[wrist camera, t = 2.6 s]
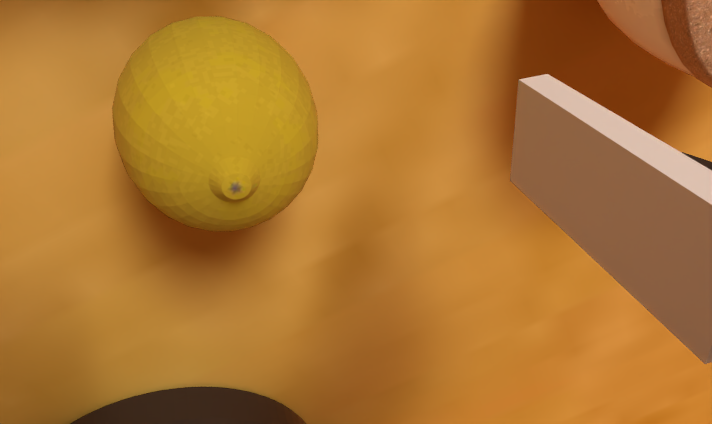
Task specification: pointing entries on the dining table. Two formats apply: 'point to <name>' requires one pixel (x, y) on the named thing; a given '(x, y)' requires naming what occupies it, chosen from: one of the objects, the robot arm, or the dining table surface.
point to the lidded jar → (668, 31)
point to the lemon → (215, 123)
